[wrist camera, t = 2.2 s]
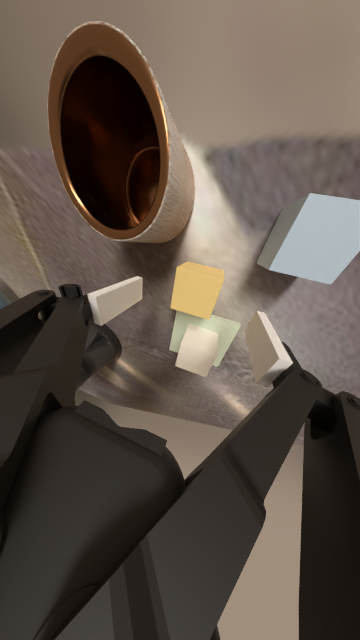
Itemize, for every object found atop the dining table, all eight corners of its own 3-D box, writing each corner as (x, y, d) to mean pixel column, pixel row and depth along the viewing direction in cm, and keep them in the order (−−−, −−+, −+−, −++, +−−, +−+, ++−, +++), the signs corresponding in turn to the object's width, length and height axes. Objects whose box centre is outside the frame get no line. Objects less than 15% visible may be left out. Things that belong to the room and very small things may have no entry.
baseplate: (170, 347, 32) (159, 369, 26) (178, 304, 25) (166, 322, 19) (217, 363, 30) (216, 392, 24) (239, 323, 24) (245, 348, 18)
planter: (202, 230, 18) (187, 220, 10) (140, 251, 22) (95, 255, 14) (185, 111, 14) (134, -75, 6) (110, 164, 17) (17, 97, 10)
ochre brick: (180, 295, 24) (170, 308, 19) (187, 261, 21) (176, 266, 16) (211, 304, 23) (208, 320, 18) (223, 270, 20) (224, 278, 15)
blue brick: (256, 263, 18) (268, 269, 14) (281, 209, 15) (309, 193, 10) (300, 273, 18) (330, 284, 13) (337, 219, 14) (397, 206, 9)
